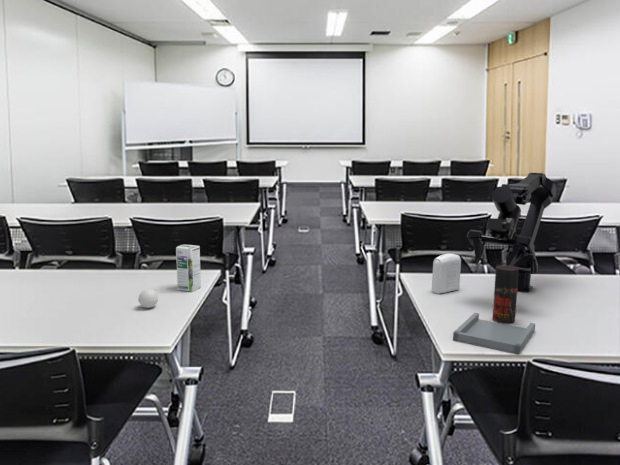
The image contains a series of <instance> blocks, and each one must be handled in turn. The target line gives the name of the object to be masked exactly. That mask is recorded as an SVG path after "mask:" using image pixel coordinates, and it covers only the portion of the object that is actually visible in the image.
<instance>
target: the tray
mask: <svg viewBox="0 0 620 465" xmlns="http://www.w3.org/2000/svg"><path fill="white" fill-rule="evenodd" d="M535 330H536V323H534V322H530V323H529V325H528V326H527V327H521V326H517V325H511V324H503V323H498V322H495V321H491V320H484V319H480V313H479V312H473V313H472V314H471V315H470V316H469V317H468V318H467V319H466V320H465V321H464V322H462V324H461V325H460V326H458V328H457V329H455V330H454V331H453V334H452V335H453V336H452V341H455V342H456V341H457V342H461V343H466V344H470V345H475V346H478V347H479V346H480V347H484V348H489V349H493V350H499V351H502V352H503V351H504V352H508V353H513V354H517V355H519V354H520V353H521V352H522V351H523V350H524V348H525V346H526V345H527V343H528V341H529V340H530V339H531V337H532V336H533V334H534V332H535Z"/></svg>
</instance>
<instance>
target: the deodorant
mask: <svg viewBox="0 0 620 465" xmlns="http://www.w3.org/2000/svg"><path fill="white" fill-rule="evenodd" d="M494 274H495V278H494V291H493V292H494V293H493V304H492V306H493V307H492V321H493V322H496V323H502V324H507V325H511V324H514V323H515V322H516V312H517V301H518V300H517V298H518V290H517V288H518V275H519V268H518V267H515V266H509V265H507V264H499V265H496V266H495V273H494Z"/></svg>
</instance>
